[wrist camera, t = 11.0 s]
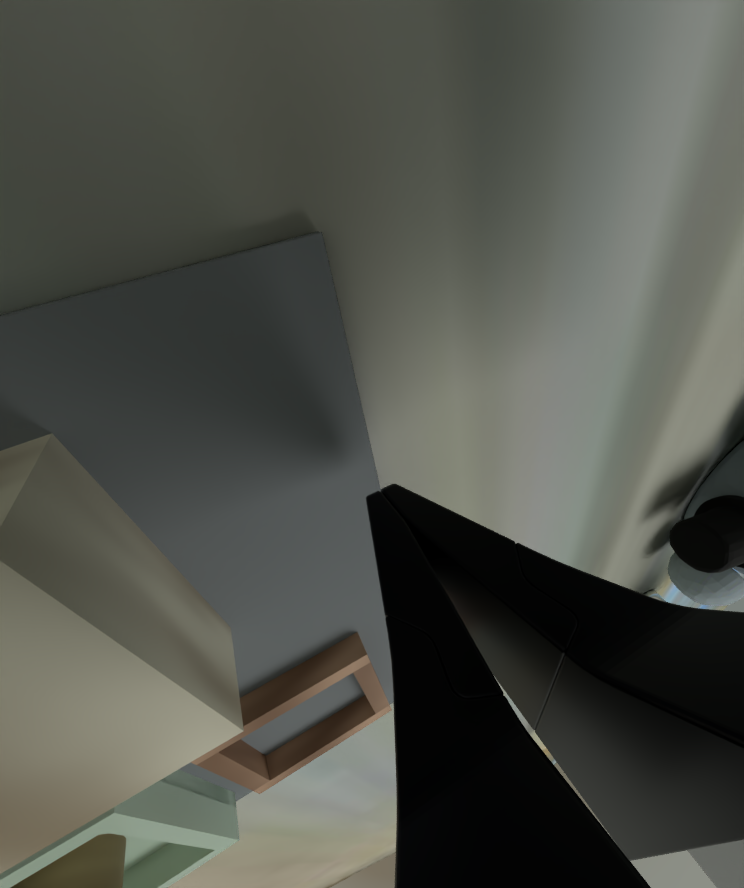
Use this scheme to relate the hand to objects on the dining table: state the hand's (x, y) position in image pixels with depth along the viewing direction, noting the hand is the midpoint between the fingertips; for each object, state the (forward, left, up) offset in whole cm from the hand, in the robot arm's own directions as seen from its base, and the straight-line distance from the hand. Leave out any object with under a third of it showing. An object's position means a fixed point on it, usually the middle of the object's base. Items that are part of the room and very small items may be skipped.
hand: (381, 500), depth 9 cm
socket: (+5, +12, -2) cm, 13 cm away
